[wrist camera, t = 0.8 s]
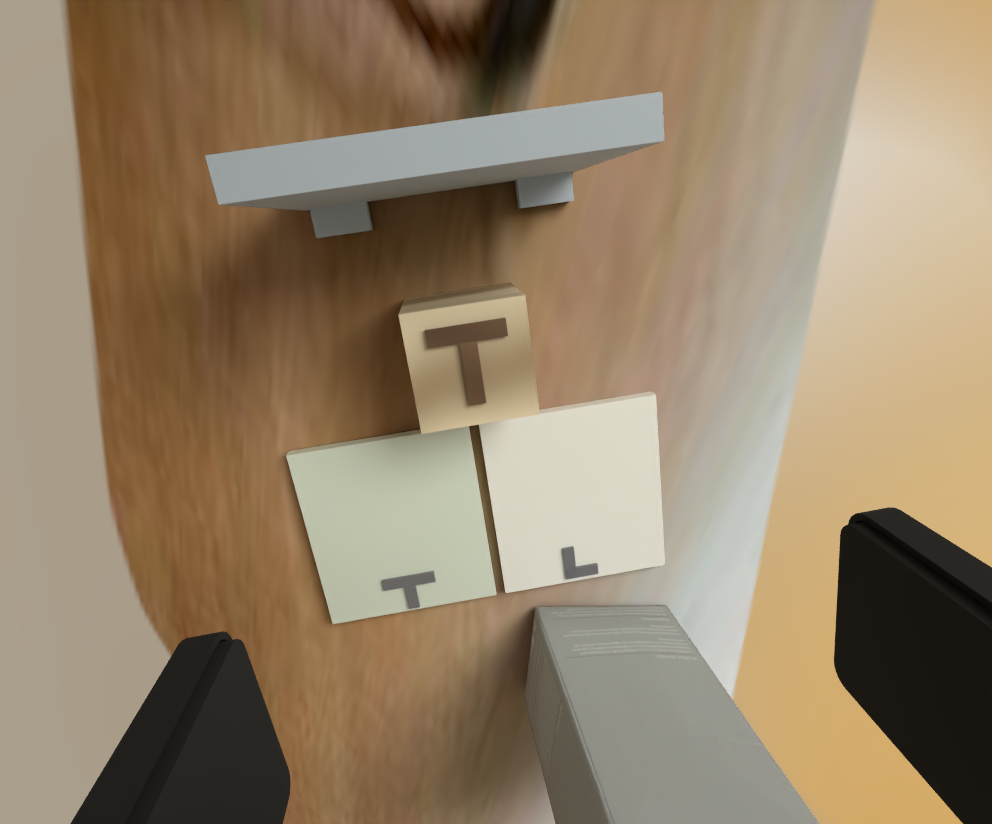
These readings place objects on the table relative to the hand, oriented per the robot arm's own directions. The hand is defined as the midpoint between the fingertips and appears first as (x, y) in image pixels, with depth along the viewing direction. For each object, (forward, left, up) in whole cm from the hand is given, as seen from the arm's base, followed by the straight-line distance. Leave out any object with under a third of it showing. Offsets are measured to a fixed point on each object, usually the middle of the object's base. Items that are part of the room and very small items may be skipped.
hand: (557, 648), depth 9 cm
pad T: (+8, -5, -20) cm, 23 cm away
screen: (-8, 0, -20) cm, 22 cm away
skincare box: (+18, +5, -21) cm, 28 cm away
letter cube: (-1, 0, -21) cm, 21 cm away
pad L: (+8, +4, -20) cm, 23 cm away
